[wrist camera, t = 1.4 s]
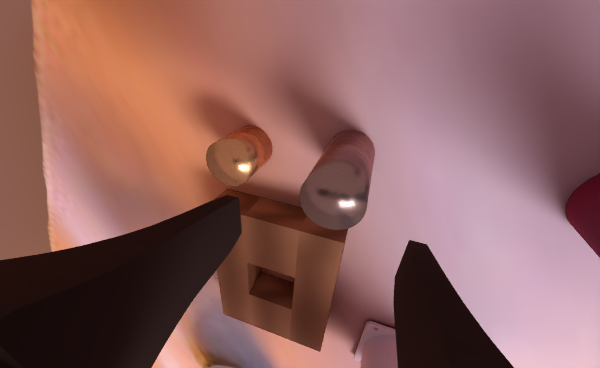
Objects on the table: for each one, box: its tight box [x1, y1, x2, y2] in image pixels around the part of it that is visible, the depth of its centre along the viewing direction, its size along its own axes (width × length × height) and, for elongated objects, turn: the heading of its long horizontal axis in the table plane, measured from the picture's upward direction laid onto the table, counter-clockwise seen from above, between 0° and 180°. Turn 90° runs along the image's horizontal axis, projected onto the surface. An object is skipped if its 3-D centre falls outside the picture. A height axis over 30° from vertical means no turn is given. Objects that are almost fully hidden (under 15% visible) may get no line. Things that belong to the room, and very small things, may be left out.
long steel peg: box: [300, 130, 375, 230], centre depth 15 cm, size 3×3×7 cm
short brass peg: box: [206, 126, 272, 186], centre depth 19 cm, size 3×3×4 cm
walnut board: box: [214, 189, 348, 351], centre depth 25 cm, size 12×16×3 cm
